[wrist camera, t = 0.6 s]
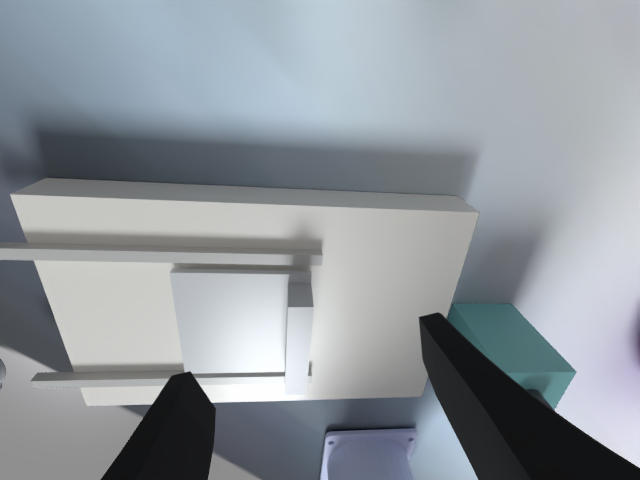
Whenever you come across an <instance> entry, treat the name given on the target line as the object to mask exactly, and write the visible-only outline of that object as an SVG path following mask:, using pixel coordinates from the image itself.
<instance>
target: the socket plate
mask: <svg viewBox="0 0 640 480" xmlns="http://www.w3.org/2000/svg"><path fill="white" fill-rule="evenodd" d="M10 196H11V199H12V202H13V204H14V207H15V210H16V213H17V215H18V218H19V221H20V224H21V226H22V229H23V232H24V235H25V237H26V240H27V243H19V242H0V260H34V262H35V265H36V268H37V270H38V273H39V276H40V279H41V281H42V284H43V287H44V290H45V293H46V295H47V298H48V301H49V304H50V306H51V309H52V312H53V315H54V317H55V320H56V323H57V326H58V328H59V331H60V334H61V337H62V339H63V342H64V345H65V348H66V350H67V353H68V356H69V359H70V361H71V364H72V367H73V370H74V372H50V373H37V374H36V375H35V376H34V377H33V379H32V380H31V381H30V382H31V384H32V386H33V388H35V389H38V388H79V387H80V389H81V392H82V395H83V397H84V400H85V403H86V406H103V405H141V404H153V403H154V401H155V400H156V398H157V397H158V395H159V393H160V392H161V390H162V389H163V387H164V386H165V384H166V383H167V381H168V380H169V379H170V377H171V376H172V375H176V374H180V373H185V371H184V364H183V358H182V351H181V345H180V338H179V332H178V325H177V319H176V312H175V305H174V299H173V292H172V286H171V279H170V271H171V269H172V268H183V269H242V270H302V271H311V273H312V277H311V287H312V296H313V305H314V311H313V323H312V335H311V347H310V359H309V371H308V383H307V395H285V372H256V373H199V374H193V376H194V377H195V379H196V380H197V382H198V383H199V385H200V386H201V388H202V389H203V391H204V392H205V394H206V395H207V396H208V398H209V399H210V401H211V402H212V403H215V402H252V401H289V400H326V399H363V398H400V397H422V395H423V391H424V388H425V385H426V382H427V379H428V373H427V371H426V368H425V365H424V363H423V359H422V348H421V337H420V326H419V317H421V316H425V315H429V314H433V313H437V312H439V313H441V314H442V315H443V316H444V317H445V318H447V315H448V312H449V309H450V306H451V303H452V299H453V296H454V293H455V290H456V287H457V284H458V280H459V277H460V274H461V271H462V268H463V264H464V261H465V258H466V255H467V252H468V249H469V245H470V242H471V239H472V236H473V233H474V230H475V226H476V223H477V220H478V217H479V214H480V212H478V211H477V210H476V209H474V208H473V207H472V206H470V205H469V204H468V203H466V202H465V201H464V200H462V199H461V198H460V197H458V196H445V195H422V194H400V193H377V192H355V191H332V190H310V189H287V188H264V187H242V186H219V185H197V184H174V183H152V182H129V181H106V180H84V179H61V178H45V179H43V180H40V181H38V182H36V183H34V184H32V185H29V186H27V187H25V188H23V189H21V190H18V191H16V192H14V193H12V194H10Z"/></svg>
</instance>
